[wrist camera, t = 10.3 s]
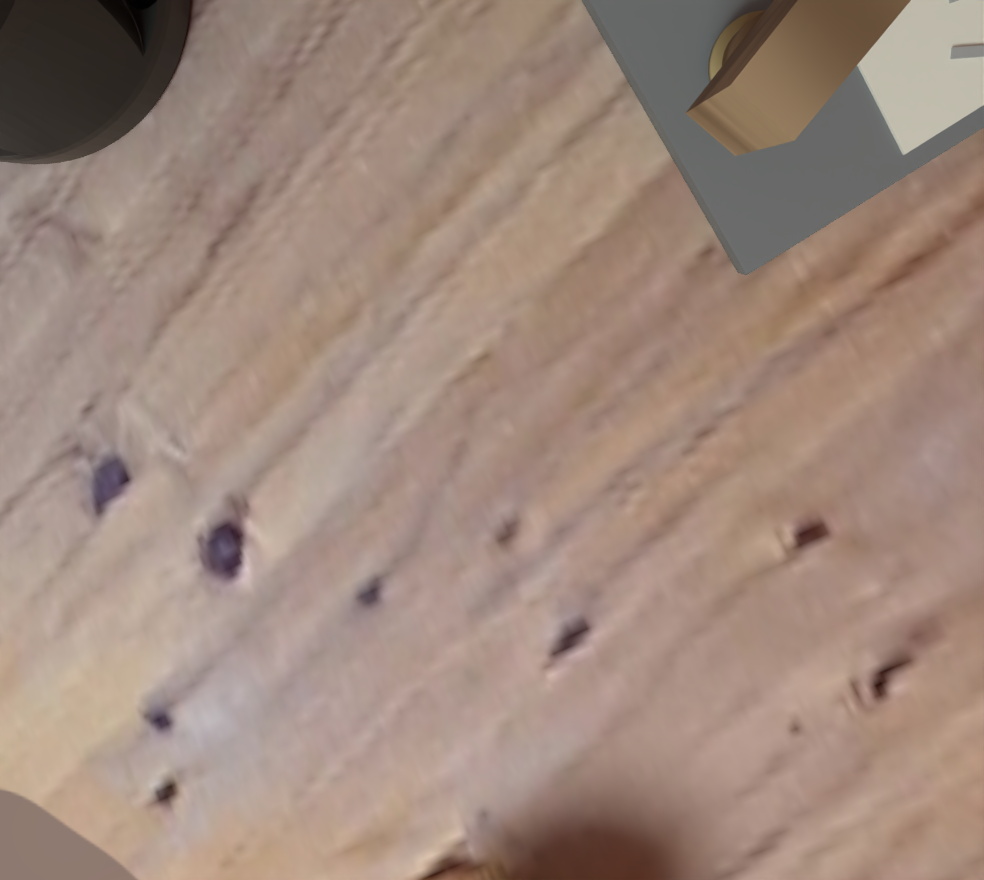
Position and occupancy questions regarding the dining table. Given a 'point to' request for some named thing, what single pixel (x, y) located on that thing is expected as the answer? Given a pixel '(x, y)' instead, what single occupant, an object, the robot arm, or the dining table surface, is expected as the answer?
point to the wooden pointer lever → (785, 67)
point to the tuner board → (829, 135)
